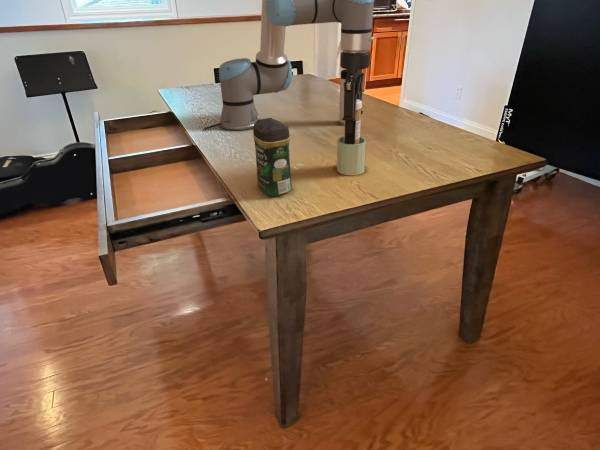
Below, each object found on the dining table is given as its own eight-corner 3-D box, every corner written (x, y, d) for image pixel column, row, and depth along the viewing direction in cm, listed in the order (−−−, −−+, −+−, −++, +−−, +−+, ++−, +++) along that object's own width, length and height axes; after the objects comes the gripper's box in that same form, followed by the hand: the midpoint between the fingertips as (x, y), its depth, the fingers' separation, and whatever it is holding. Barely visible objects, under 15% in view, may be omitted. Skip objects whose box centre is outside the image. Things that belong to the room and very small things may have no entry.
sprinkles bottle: (342, 145, 119) (344, 98, 112) (358, 145, 119) (361, 98, 112) (344, 151, 115) (345, 103, 108) (360, 151, 115) (363, 102, 108)
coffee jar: (253, 186, 112) (247, 118, 103) (279, 179, 115) (276, 113, 106) (268, 200, 105) (263, 129, 95) (296, 193, 108) (294, 123, 98)
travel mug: (355, 125, 155) (358, 70, 145) (338, 125, 157) (339, 69, 146) (357, 120, 161) (359, 66, 150) (340, 120, 162) (341, 66, 152)
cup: (340, 176, 116) (341, 145, 112) (334, 165, 123) (334, 136, 119) (367, 174, 117) (369, 143, 113) (360, 163, 124) (361, 134, 119)
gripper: (363, 57, 96) (358, 152, 107) (376, 46, 110) (370, 131, 122) (332, 56, 98) (330, 149, 110) (348, 45, 112) (345, 129, 124)
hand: (351, 140), depth 116 cm, fingers closed on sprinkles bottle, 4 cm apart
